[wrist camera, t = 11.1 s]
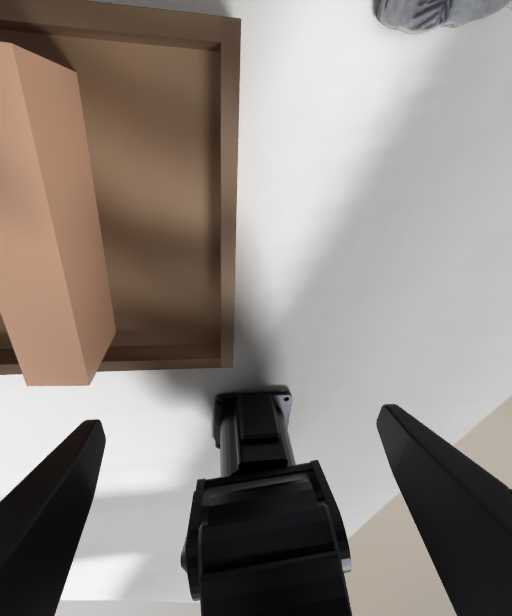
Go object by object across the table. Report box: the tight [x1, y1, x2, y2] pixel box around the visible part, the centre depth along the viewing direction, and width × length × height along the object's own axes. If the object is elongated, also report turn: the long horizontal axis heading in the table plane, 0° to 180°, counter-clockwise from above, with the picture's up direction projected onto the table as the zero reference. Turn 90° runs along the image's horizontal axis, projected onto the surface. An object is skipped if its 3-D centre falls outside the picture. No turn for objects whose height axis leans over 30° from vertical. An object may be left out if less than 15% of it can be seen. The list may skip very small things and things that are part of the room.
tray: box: [0, 0, 241, 375], centre depth 16 cm, size 18×18×2 cm
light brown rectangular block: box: [0, 42, 116, 386], centre depth 15 cm, size 14×3×5 cm, turn 174°
